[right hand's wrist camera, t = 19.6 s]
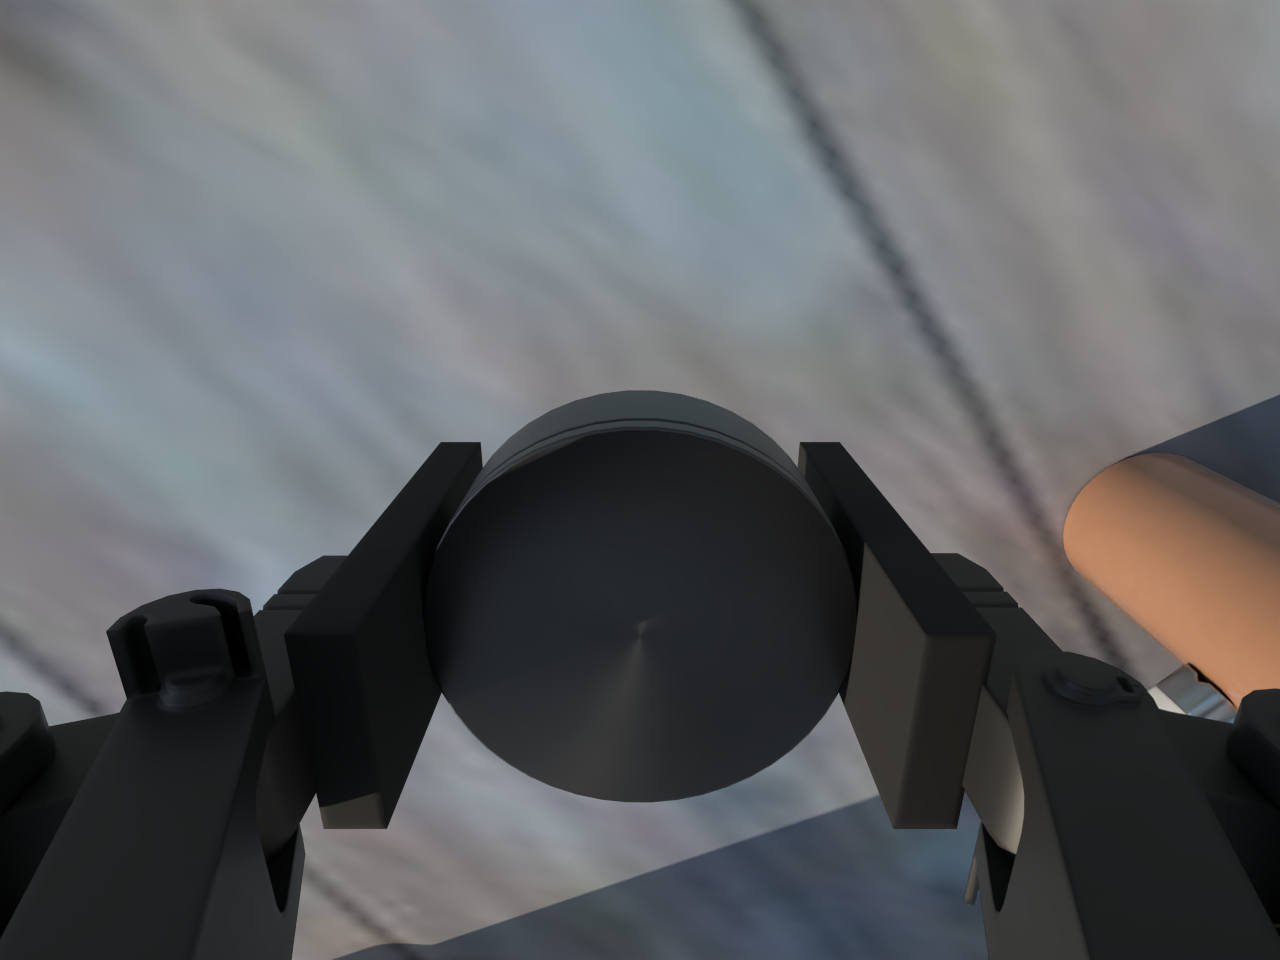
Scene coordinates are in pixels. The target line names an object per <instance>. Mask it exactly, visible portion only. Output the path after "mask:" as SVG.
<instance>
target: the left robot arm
mask: <svg viewBox="0 0 1280 960" xmlns="http://www.w3.org/2000/svg"><path fill="white" fill-rule="evenodd" d="M1147 691H1148V692H1149V694H1150V695H1151V696H1152V697H1153V698H1154V700H1155V702H1156V704H1157V706H1158V708H1159V709H1162V710H1166V711H1171V712H1176V713H1181V714H1186V715H1191V716H1197V717H1202V718H1207V719H1212V720H1217V721H1223V722H1228V723H1233V722H1234V719H1235V716H1236V714H1237V711H1238V709H1237V708H1236V707H1235V706H1234V705H1233V704H1232V703H1231V702H1230V701H1229V700H1227V699H1226V698H1225V697H1224V696H1223V695H1222V694H1221V693H1220V692H1218V691H1217V690H1216V689H1215V688H1214V687H1213V686H1212V685H1211V684H1210V683H1207V682H1206V681H1205V680H1204V679H1203V678H1202V677H1201V676H1200V675H1199V674H1198V673H1197V672H1196V671H1195V670H1193V669H1192V668H1191V667H1190V666H1189V665H1187V664H1185V665H1183V666H1182V667H1180V668H1179V669H1178V670H1176V671H1175V672H1173V673H1172V674H1170V675H1169V676H1168V677H1166V678H1165V679H1163V680H1162V681H1160V682H1159V683H1158V684H1156V685H1154V686H1153V687H1151V688H1150V689H1148V690H1147ZM1167 695H1168V696H1169V697H1170V698H1169V697H1168V696H1167Z"/></svg>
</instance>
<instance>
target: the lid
mask: <svg viewBox="0 0 1280 960" xmlns="http://www.w3.org/2000/svg"><path fill="white" fill-rule="evenodd" d="M857 617H858V598H857V592H856V587H855V581H854V576H853V572H852V569H851V566H850V563H849V560H848V557H847V554H846V551H845V548H844V547H843V545H842V543H841V541H840V539H839V537H838V535H837V533H836V531H835V529H834V527H833V525H832V524H831V522H830V520H829V519H828V517H827V515H826V514H825V512H824V510H823V508H822V507H821V505H820V503H819V502H818V500H817V498H816V496H815V495H814V493H813V491H812V490H811V488H810V486H809V485H808V483H807V481H806V479H805V478H804V476H803V475H802V473H801V472H800V470H799V469H798V468H797V466H796V465H795V464H794V462H793V461H792V459H791V458H790V457H789V456H788V455H787V454H786V453H785V452H784V451H783V449H782V448H781V447H780V446H779V445H778V444H777V443H776V442H775V441H774V440H773V439H772V438H770V437H769V436H768V435H766V434H765V433H764V432H763V431H761V430H760V429H759V428H757V427H756V426H755V425H754V424H752V423H750V422H749V421H747V420H745V419H744V418H742V417H740V416H738V415H737V414H735V413H733V412H731V411H729V410H727V409H725V408H722V407H720V406H717V405H715V404H712V403H710V402H708V401H705V400H701V399H697V398H693V397H690V396H686V395H682V394H676V393H668V392H661V391H620V392H612V393H604V394H599V395H595V396H591V397H587V398H583V399H580V400H576V401H573V402H571V403H568V404H566V405H563V406H561V407H558V408H556V409H553V410H551V411H549V412H548V413H546V414H544V415H542V416H541V417H539V418H537V419H535V420H534V421H532V422H530V423H529V424H527V425H526V426H525V427H523V428H522V429H521V430H519V431H518V432H517V433H515V434H514V435H513V436H511V437H510V438H509V439H508V440H507V441H506V442H505V443H504V444H503V445H502V446H501V447H500V448H499V449H498V450H497V451H496V452H495V453H494V454H493V455H492V457H491V458H490V459H489V461H488V462H487V463H486V465H485V466H484V467H483V469H482V470H481V471H480V473H479V474H478V476H477V477H476V479H475V481H474V482H473V484H472V486H471V487H470V489H469V491H468V493H467V494H466V496H465V498H464V499H463V501H462V503H461V504H460V506H459V508H458V509H457V511H456V513H455V515H454V516H453V518H452V520H451V521H450V523H449V525H448V527H447V529H446V530H445V532H444V534H443V536H442V538H441V540H440V542H439V544H438V545H437V547H436V550H435V553H434V556H433V559H432V561H431V564H430V567H429V570H428V574H427V579H426V585H425V590H424V595H423V620H424V629H425V637H426V645H427V652H428V657H429V660H430V664H431V667H432V671H433V673H434V675H435V678H436V680H437V682H438V684H439V687H440V689H441V691H442V693H443V695H444V696H445V698H446V700H447V701H448V703H449V705H450V706H451V708H452V709H453V711H454V713H455V714H456V715H457V716H458V718H459V719H460V720H461V721H462V723H463V724H464V725H465V726H466V727H467V729H468V730H469V731H470V732H471V733H472V734H473V735H474V736H475V737H476V738H477V739H478V740H479V741H480V742H481V743H482V744H483V745H484V746H485V747H486V748H488V749H489V750H490V751H491V752H493V753H494V754H495V755H497V756H498V757H499V758H501V759H502V760H503V761H505V762H506V763H507V764H509V765H511V766H513V767H514V768H516V769H518V770H519V771H521V772H523V773H525V774H526V775H528V776H530V777H532V778H534V779H537V780H539V781H541V782H543V783H546V784H548V785H550V786H552V787H556V788H559V789H562V790H565V791H568V792H571V793H574V794H578V795H583V796H587V797H592V798H597V799H602V800H611V801H621V802H660V801H670V800H679V799H684V798H689V797H694V796H699V795H703V794H706V793H710V792H713V791H716V790H719V789H722V788H726V787H728V786H731V785H733V784H735V783H737V782H740V781H742V780H744V779H747V778H749V777H751V776H753V775H754V774H756V773H758V772H760V771H761V770H763V769H765V768H767V767H768V766H770V765H772V764H773V763H775V762H776V761H777V760H779V759H780V758H781V757H783V756H784V755H785V754H787V753H788V752H790V751H791V750H792V749H793V748H794V747H795V746H796V745H797V744H798V743H800V742H801V741H802V740H803V739H804V738H805V737H806V736H807V735H808V734H809V733H810V732H811V731H812V730H813V728H814V727H815V726H816V725H817V724H818V722H819V721H820V720H821V719H822V717H823V716H824V715H825V714H826V712H827V710H828V709H829V707H830V706H831V704H832V703H833V701H834V699H835V698H836V696H837V695H838V693H839V690H840V688H841V686H842V684H843V681H844V679H845V677H846V675H847V673H848V670H849V666H850V663H851V659H852V656H853V650H854V642H855V634H856V626H857Z"/></svg>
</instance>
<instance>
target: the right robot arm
mask: <svg viewBox="0 0 1280 960" xmlns="http://www.w3.org/2000/svg"><path fill="white" fill-rule="evenodd" d="M482 469H483V465H482V453H481V442H441V443H440V444H439V445H438V446H437V448H436V449H435V450H434V451H433V453H432V454H431V455H430V456H429V457H428V459H427V460H426V461H425V462H424V464H423V465H422V466H421V467H420V468H419V470H418V471H417V472H416V473H415V475H414V476H413V477H412V478H411V479H410V481H409V482H408V483H407V484H406V486H405V487H404V488H403V489H402V490H401V492H400V493H399V494H398V495H397V497H396V498H395V499H394V500H393V501H392V503H391V504H390V505H389V506H388V508H387V509H386V510H385V511H384V512H383V514H382V515H381V516H380V517H379V519H378V520H377V521H376V522H375V523H374V525H373V526H372V527H371V528H370V530H369V531H368V532H367V533H366V534H365V536H364V537H363V538H362V539H361V541H360V542H359V543H358V544H357V545H356V547H355V548H354V549H353V550H352V552H351V553H350V554H349V555H348V556H322V557H320V558H318V559H317V560H315V561H313V562H311V563H310V564H308V565H306V566H304V567H303V568H301V569H299V570H297V571H296V572H294V573H293V575H292V576H291V577H290V578H289V579H288V580H287V581H286V582H285V583H284V584H283V585H282V586H281V588H280V589H279V590H278V594H274V595H273V596H272V597H271V598H270V599H269V601H268V602H267V603H266V604H265V605H264V606H263V610H259V611H258V612H257V613H256V615H255V616H254V617H253V612H252V608H251V603H250V599H248V598H247V597H245V596H244V595H243V594H241V593H240V592H236V591H230V590H224V589H206V590H193V591H189V592H184V593H179V594H175V595H170V596H167V597H164V598H161V599H158V600H156V601H153V602H150V603H147V604H145V605H142V606H140V607H138V608H137V609H135V610H133V611H131V612H129V613H128V614H126V615H124V616H122V617H121V618H119V619H118V620H117V621H116V622H115V623H114V624H113V625H112V626H111V627H110V628H109V629H108V630H107V631H106V633H107V636H108V639H109V642H110V646H111V649H112V652H113V655H114V659H115V662H116V665H117V668H118V671H119V675H120V678H121V681H122V684H123V688H124V691H125V694H126V697H127V700H126V702H125V704H124V705H123V707H122V709H121V711H120V713H116V714H111V715H106V716H101V717H96V718H91V719H86V720H80V721H75V722H70V723H65V724H60V725H55V726H48V723H47V720H46V717H45V715H44V712H43V709H42V706H41V704H40V701H39V700H37V699H36V698H34V697H33V696H31V695H29V694H28V693H17V692H0V960H292V952H293V945H294V937H295V929H296V922H297V914H298V906H299V899H300V891H301V883H302V876H303V868H304V860H305V849H304V843H303V837H302V833H301V828H300V824H299V823H300V821H301V820H302V818H303V816H304V814H305V812H306V810H307V808H308V807H309V805H310V803H311V801H312V799H313V797H314V796H315V794H317V798H318V803H319V808H320V813H321V818H322V822H323V827H324V829H387V827H388V825H389V822H390V820H391V817H392V815H393V812H394V810H395V807H396V805H397V802H398V800H399V797H400V795H401V792H402V790H403V787H404V785H405V782H406V780H407V777H408V775H409V772H410V770H411V767H412V765H413V762H414V760H415V757H416V755H417V752H418V750H419V747H420V745H421V742H422V740H423V737H424V735H425V732H426V730H427V727H428V725H429V722H430V720H431V718H432V715H433V713H434V710H435V708H436V705H437V703H438V700H439V698H440V695H441V693H442V691H441V689H440V687H439V684H438V682H437V680H436V678H435V675H434V673H433V671H432V667H431V664H430V660H429V657H428V652H427V645H426V637H425V629H424V620H423V595H424V590H425V585H426V579H427V574H428V570H429V567H430V564H431V561H432V559H433V556H434V553H435V550H436V547H437V545H438V544H439V542H440V540H441V538H442V536H443V534H444V532H445V530H446V529H447V527H448V525H449V523H450V521H451V520H452V518H453V516H454V515H455V513H456V511H457V509H458V508H459V506H460V504H461V503H462V501H463V499H464V498H465V496H466V494H467V493H468V491H469V489H470V487H471V486H472V484H473V482H474V481H475V479H476V477H477V476H478V474H479V473H480V471H481V470H482ZM798 469H799V470H800V472H801V473H802V475H803V476H804V478H805V479H806V481H807V483H808V485H809V486H810V488H811V490H812V491H813V493H814V495H815V496H816V498H817V500H818V502H819V503H820V505H821V507H822V508H823V510H824V512H825V514H826V515H827V517H828V519H829V520H830V522H831V524H832V525H833V527H834V529H835V531H836V533H837V535H838V537H839V539H840V541H841V543H842V545H843V547H844V548H845V551H846V554H847V557H848V560H849V563H850V566H851V569H852V572H853V576H854V581H855V587H856V592H857V598H858V617H857V626H856V634H855V642H854V650H853V656H852V659H851V663H850V666H849V670H848V673H847V675H846V677H845V679H844V681H843V684H842V686H841V688H840V690H839V694H840V696H841V699H842V701H843V704H844V706H845V709H846V711H847V714H848V716H849V719H850V721H851V724H852V726H853V729H854V731H855V734H856V736H857V739H858V741H859V744H860V746H861V749H862V751H863V754H864V756H865V759H866V761H867V764H868V766H869V769H870V771H871V774H872V776H873V779H874V781H875V784H876V786H877V789H878V791H879V794H880V796H881V799H882V801H883V803H884V806H885V808H886V811H887V813H888V816H889V818H890V821H891V823H892V826H893V828H894V829H957V825H958V820H959V815H960V810H961V806H962V801H963V796H964V791H966V793H967V795H968V797H969V798H970V800H971V802H972V804H973V806H974V807H975V809H976V811H977V813H978V815H979V817H980V818H981V824H980V828H979V833H978V837H977V842H976V846H975V851H974V855H973V860H972V864H971V869H970V873H969V878H968V882H967V887H966V893H965V900H964V902H965V903H969V904H973V905H974V904H975V900H976V896H977V891H978V889H980V897H981V904H982V912H983V920H984V927H985V935H986V943H987V950H988V958H989V960H1280V689H1278V688H1272V689H1261V690H1253V691H1252V692H1250V693H1249V694H1247V695H1246V696H1244V697H1243V698H1242V700H1241V703H1240V705H1239V708H1238V711H1237V714H1236V716H1235V719H1234V722H1233V723H1228V722H1223V721H1217V720H1212V719H1207V718H1202V717H1197V716H1191V715H1186V714H1181V713H1176V712H1171V711H1166V710H1162V709H1159V708H1158V706H1157V704H1156V702H1155V700H1154V698H1153V697H1152V696H1151V695H1150V694H1149V692H1148V691H1147V690H1146V689H1145V688H1144V686H1143V685H1142V684H1141V683H1140V682H1138V681H1137V680H1135V679H1134V678H1132V677H1131V676H1129V675H1128V674H1126V673H1125V672H1123V671H1122V670H1120V669H1119V668H1116V667H1114V666H1112V665H1109V664H1107V663H1105V662H1102V661H1100V660H1098V659H1095V658H1091V657H1087V656H1083V655H1079V654H1075V653H1071V652H1063V651H1062V650H1061V649H1060V648H1059V647H1058V646H1057V645H1056V644H1055V643H1054V642H1053V641H1052V640H1051V639H1050V637H1049V636H1048V635H1047V634H1046V633H1045V632H1044V631H1043V630H1042V629H1041V628H1040V627H1039V626H1038V625H1037V624H1036V622H1035V621H1034V620H1033V619H1032V618H1031V617H1030V616H1029V615H1028V614H1027V613H1026V612H1025V611H1024V610H1023V609H1022V608H1018V603H1017V602H1016V601H1015V600H1014V599H1013V598H1012V597H1011V596H1010V595H1009V594H1008V592H1004V591H1003V587H1002V586H1001V585H1000V584H999V583H998V582H997V581H996V580H995V579H994V577H993V576H992V575H991V574H990V573H989V572H988V571H987V570H986V569H984V568H983V567H981V566H979V565H977V564H976V563H974V562H972V561H970V560H969V559H967V558H965V557H963V556H961V555H960V554H958V553H930V552H929V551H928V550H927V549H926V547H925V546H924V545H923V544H922V542H921V541H920V540H919V539H918V538H917V536H916V535H915V534H914V533H913V531H912V530H911V529H910V528H909V527H908V525H907V524H906V523H905V522H904V520H903V519H902V518H901V517H900V516H899V514H898V513H897V512H896V511H895V509H894V508H893V507H892V506H891V505H890V503H889V502H888V501H887V500H886V498H885V497H884V496H883V495H882V493H881V492H880V491H879V490H878V489H877V487H876V486H875V485H874V484H873V482H872V481H871V480H870V479H869V478H868V476H867V475H866V474H865V473H864V471H863V470H862V469H861V468H860V467H859V465H858V464H857V463H856V462H855V460H854V459H853V458H852V457H851V456H850V454H849V453H848V452H847V451H846V449H845V448H844V447H843V446H842V445H841V443H840V442H800V447H799V459H798Z"/></svg>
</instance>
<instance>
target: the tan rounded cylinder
mask: <svg viewBox="0 0 1280 960" xmlns="http://www.w3.org/2000/svg"><path fill="white" fill-rule="evenodd" d="M1063 541H1064V548H1065V552H1066V555H1067V557H1068V559H1069V561H1070V563H1071V565H1072V566H1073V567H1074V569H1075V570H1076V571H1077V572H1078V573H1079V574H1080V575H1081V576H1082V577H1084V578H1085V579H1086V580H1087V581H1088V582H1089V583H1090V584H1092V585H1093V586H1094V587H1095V588H1096V589H1097V590H1098V591H1100V592H1101V593H1102V594H1103V595H1104V596H1105V597H1106V598H1108V599H1109V600H1110V601H1111V602H1112V603H1113V604H1114V605H1116V606H1117V607H1118V608H1119V609H1120V610H1121V611H1122V612H1124V613H1125V614H1126V615H1127V616H1128V617H1129V618H1130V619H1132V620H1133V621H1134V622H1135V623H1136V624H1137V625H1138V626H1140V627H1141V628H1142V629H1143V630H1144V631H1145V632H1146V633H1148V634H1149V635H1150V636H1151V637H1152V638H1153V639H1154V640H1156V641H1157V642H1158V643H1159V644H1160V645H1161V646H1162V647H1163V648H1165V649H1166V650H1167V651H1168V652H1169V653H1170V654H1171V655H1173V656H1174V657H1175V658H1176V659H1177V660H1178V661H1179V662H1181V663H1182V664H1183V665H1185V664H1187V665H1189V666H1190V667H1191V668H1192V669H1193V670H1195V671H1196V672H1197V673H1198V674H1199V675H1200V676H1201V677H1202V678H1203V679H1204V680H1205V681H1206V682H1207V683H1210V684H1211V685H1212V686H1213V687H1214V688H1215V689H1216V690H1217V691H1218V692H1220V693H1221V694H1222V695H1223V696H1224V697H1225V698H1226V699H1227V700H1229V701H1230V702H1231V703H1232V704H1233V705H1234V706H1235V707H1236V708H1237V709H1238V708H1239V705H1240V703H1241V700H1242V698H1243V697H1244V696H1246V695H1247V694H1249V693H1250V692H1252V691H1253V690H1261V689H1272V688H1278V689H1280V503H1278V502H1276V501H1274V500H1272V499H1270V498H1268V497H1266V496H1264V495H1262V494H1260V493H1258V492H1256V491H1254V490H1251V489H1249V488H1247V487H1245V486H1243V485H1241V484H1239V483H1237V482H1235V481H1233V480H1231V479H1229V478H1227V477H1225V476H1223V475H1221V474H1219V473H1217V472H1215V471H1213V470H1211V469H1209V468H1207V467H1205V466H1203V465H1201V464H1199V463H1197V462H1195V461H1192V460H1190V459H1188V458H1186V457H1183V456H1180V455H1176V454H1171V453H1147V454H1142V455H1137V456H1133V457H1130V458H1127V459H1125V460H1122V461H1120V462H1117V463H1116V464H1114V465H1112V466H1110V467H1108V468H1107V469H1105V470H1104V471H1102V472H1101V473H1099V474H1098V475H1097V476H1096V477H1094V478H1093V479H1092V480H1091V481H1090V482H1089V483H1088V484H1087V485H1086V486H1085V487H1084V488H1083V489H1082V491H1081V492H1080V493H1079V494H1078V496H1077V497H1076V499H1075V500H1074V502H1073V504H1072V505H1071V507H1070V510H1069V512H1068V514H1067V517H1066V521H1065V525H1064V531H1063Z"/></svg>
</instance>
